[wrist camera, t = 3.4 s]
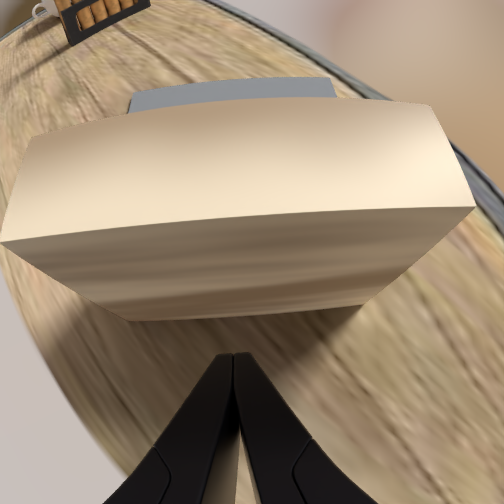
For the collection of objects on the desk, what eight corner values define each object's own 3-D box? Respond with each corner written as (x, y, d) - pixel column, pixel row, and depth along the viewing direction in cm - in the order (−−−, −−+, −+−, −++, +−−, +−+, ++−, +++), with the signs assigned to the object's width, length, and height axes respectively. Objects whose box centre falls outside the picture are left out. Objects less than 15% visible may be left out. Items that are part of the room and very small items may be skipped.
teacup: (83, -3, 34) (75, -28, 29) (105, -2, 32) (97, -30, 27) (32, 29, 31) (21, 4, 26) (48, 33, 30) (35, 5, 25)
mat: (375, 231, 17) (378, 228, 17) (107, 251, 17) (104, 248, 17) (328, 81, 22) (329, 77, 22) (134, 96, 22) (133, 92, 22)
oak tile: (363, 304, 16) (476, 206, 7) (128, 321, 16) (-2, 242, 6) (352, 241, 17) (429, 105, 8) (131, 257, 17) (31, 137, 8)
